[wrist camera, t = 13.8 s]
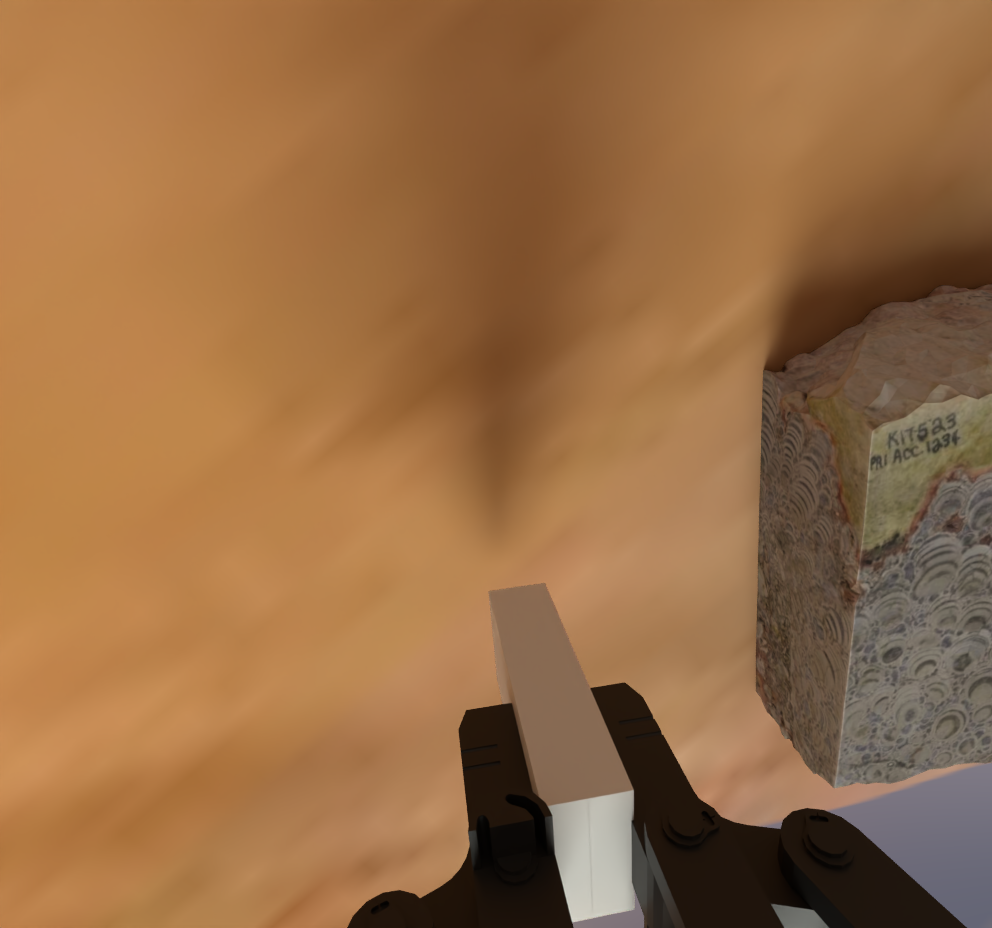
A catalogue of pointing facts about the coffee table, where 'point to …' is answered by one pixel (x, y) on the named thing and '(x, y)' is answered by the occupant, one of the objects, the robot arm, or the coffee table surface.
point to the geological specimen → (881, 543)
